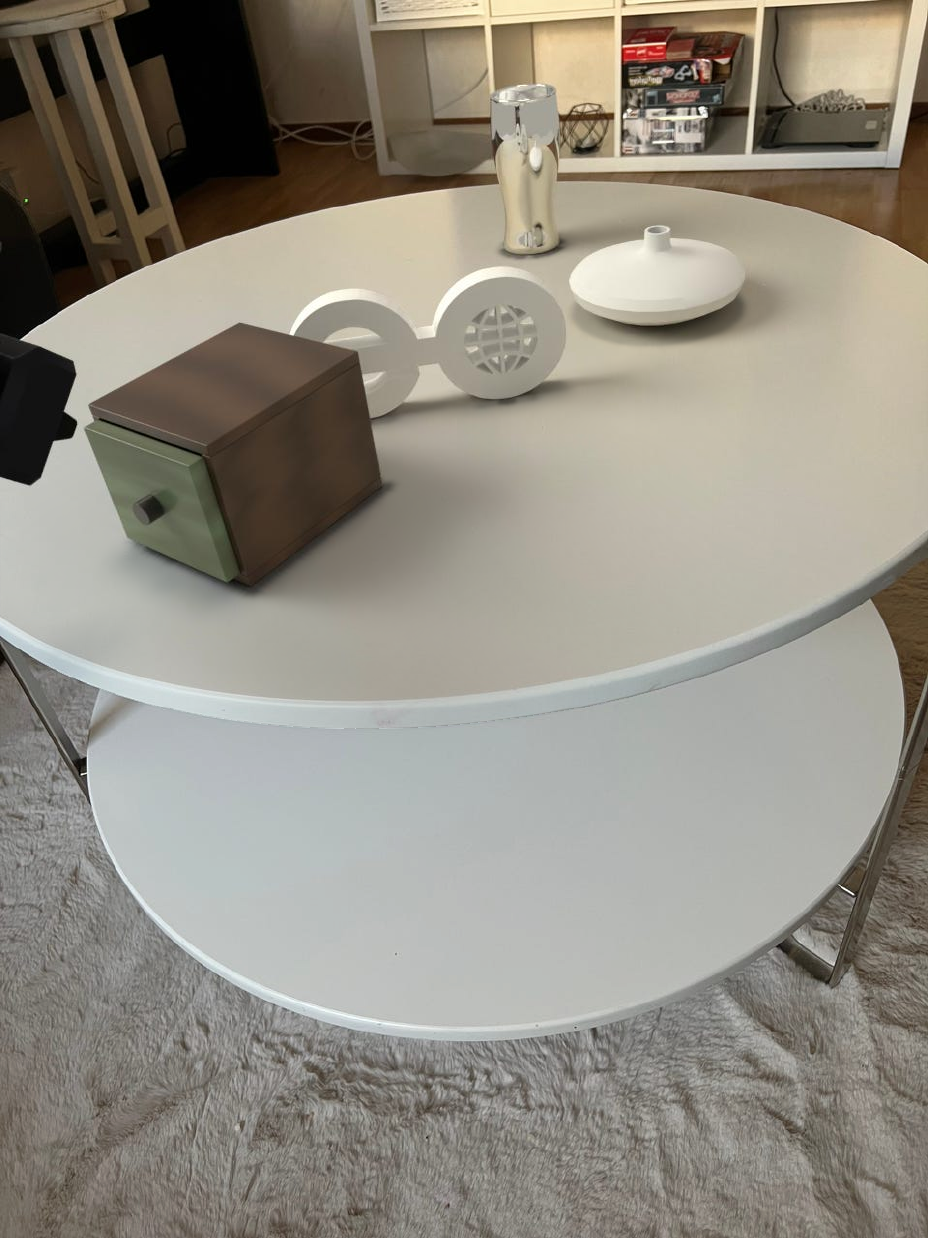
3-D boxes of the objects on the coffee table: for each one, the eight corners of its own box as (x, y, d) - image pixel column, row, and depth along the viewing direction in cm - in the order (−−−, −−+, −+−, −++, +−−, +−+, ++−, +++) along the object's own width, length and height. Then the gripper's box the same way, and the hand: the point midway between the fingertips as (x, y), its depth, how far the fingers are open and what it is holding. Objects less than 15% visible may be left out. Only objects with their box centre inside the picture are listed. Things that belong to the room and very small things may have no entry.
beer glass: (543, 228, 110) (536, 79, 100) (575, 245, 105) (571, 90, 95) (488, 243, 108) (475, 93, 98) (518, 261, 103) (508, 105, 93)
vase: (620, 265, 99) (620, 192, 95) (770, 287, 91) (778, 209, 87) (538, 327, 90) (533, 250, 85) (697, 357, 82) (701, 274, 78)
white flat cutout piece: (562, 376, 82) (558, 257, 76) (568, 388, 80) (563, 267, 74) (303, 416, 81) (275, 299, 75) (302, 428, 80) (274, 310, 73)
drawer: (213, 593, 62) (173, 476, 57) (113, 547, 68) (67, 435, 62) (354, 488, 70) (331, 376, 65) (254, 454, 76) (224, 347, 70)
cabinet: (250, 586, 64) (206, 445, 57) (139, 537, 70) (87, 404, 63) (383, 485, 72) (358, 350, 65) (272, 448, 78) (239, 321, 71)
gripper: (-55, 163, 38) (228, 323, 51) (-259, 128, 47) (25, 271, 61) (-146, 436, 38) (157, 523, 52) (-330, 347, 48) (-33, 441, 61)
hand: (71, 428), depth 56 cm, fingers closed
